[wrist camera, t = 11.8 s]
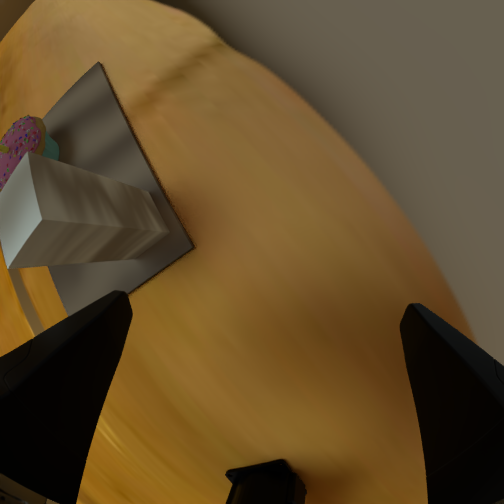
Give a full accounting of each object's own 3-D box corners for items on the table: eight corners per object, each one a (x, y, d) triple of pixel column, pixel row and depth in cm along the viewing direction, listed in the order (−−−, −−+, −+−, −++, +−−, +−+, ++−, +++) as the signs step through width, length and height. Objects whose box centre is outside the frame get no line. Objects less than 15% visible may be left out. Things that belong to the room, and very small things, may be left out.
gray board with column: (194, 247, 21) (69, 248, 8) (79, 330, 23) (-20, 365, 11) (100, 63, 23) (34, 11, 10) (22, 149, 25) (-47, 129, 12)
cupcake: (79, 127, 23) (-3, 88, 11) (56, 204, 23) (-37, 191, 11) (41, 128, 24) (-28, 101, 12) (22, 193, 24) (-53, 181, 13)
